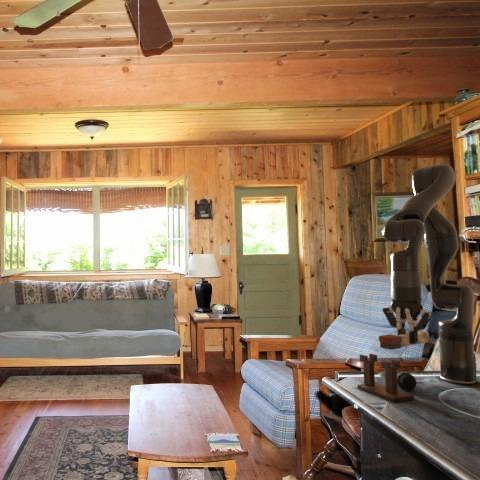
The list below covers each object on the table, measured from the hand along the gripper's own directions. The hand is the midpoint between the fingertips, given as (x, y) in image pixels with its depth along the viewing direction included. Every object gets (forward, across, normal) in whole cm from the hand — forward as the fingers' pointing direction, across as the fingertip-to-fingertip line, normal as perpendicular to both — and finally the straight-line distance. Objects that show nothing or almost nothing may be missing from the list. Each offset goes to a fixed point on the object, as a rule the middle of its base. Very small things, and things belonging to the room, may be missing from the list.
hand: (407, 342), depth 123 cm
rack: (+18, +8, 0) cm, 19 cm away
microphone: (+18, +12, -14) cm, 26 cm away
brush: (+1, 0, +2) cm, 2 cm away
